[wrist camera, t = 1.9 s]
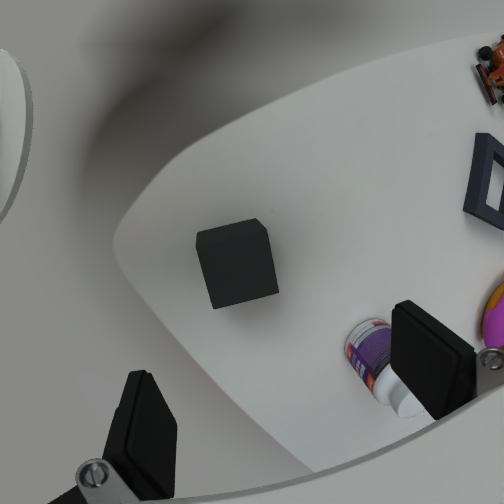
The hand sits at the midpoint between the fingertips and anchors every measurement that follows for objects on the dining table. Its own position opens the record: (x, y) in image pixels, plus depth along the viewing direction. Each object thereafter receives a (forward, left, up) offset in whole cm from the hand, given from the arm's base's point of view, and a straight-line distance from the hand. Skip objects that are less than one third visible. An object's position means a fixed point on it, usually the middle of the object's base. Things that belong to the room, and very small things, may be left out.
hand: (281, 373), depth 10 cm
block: (0, 0, -14) cm, 14 cm away
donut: (+37, 0, -14) cm, 39 cm away
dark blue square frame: (+26, +14, -14) cm, 33 cm away
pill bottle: (+14, -6, -14) cm, 21 cm away
